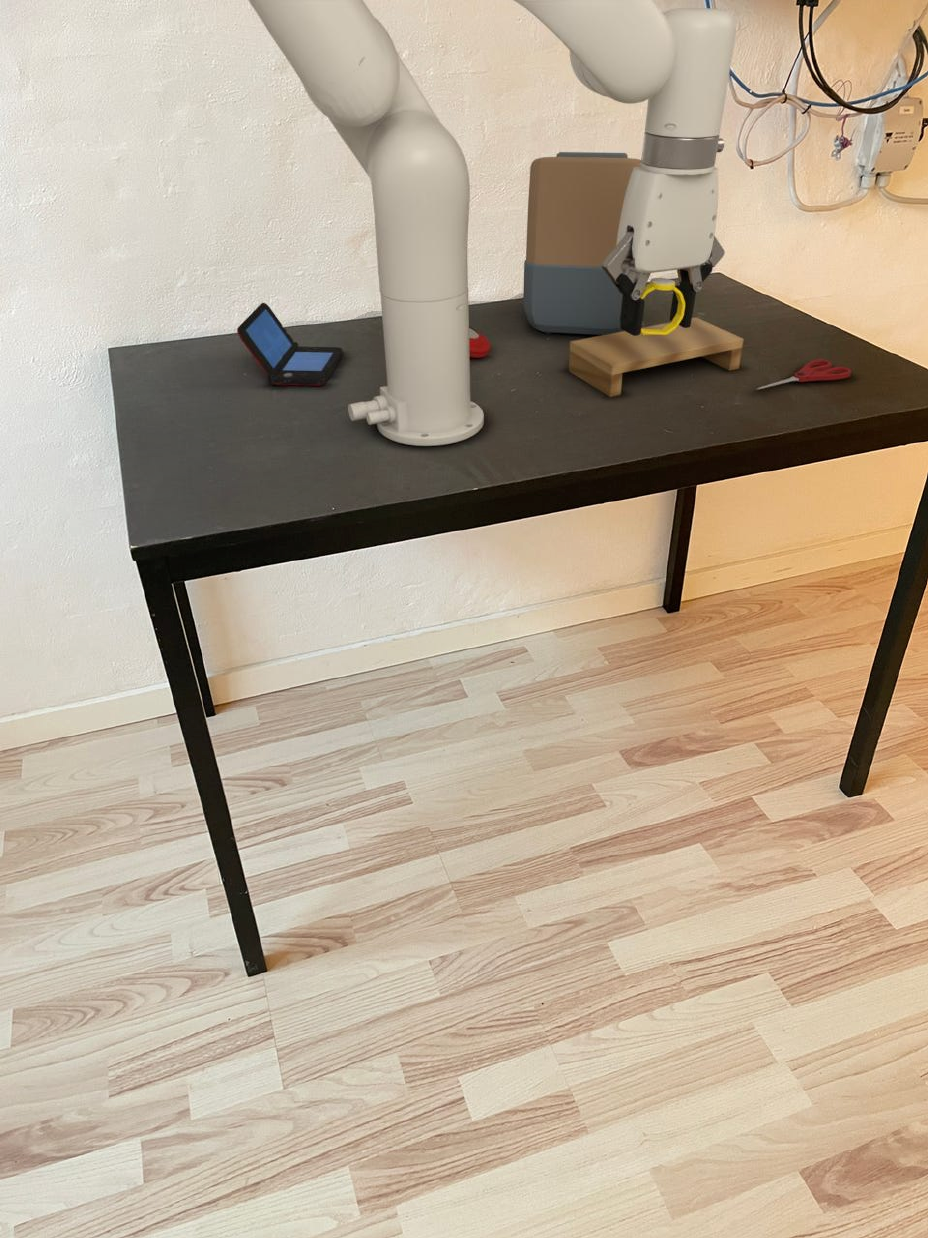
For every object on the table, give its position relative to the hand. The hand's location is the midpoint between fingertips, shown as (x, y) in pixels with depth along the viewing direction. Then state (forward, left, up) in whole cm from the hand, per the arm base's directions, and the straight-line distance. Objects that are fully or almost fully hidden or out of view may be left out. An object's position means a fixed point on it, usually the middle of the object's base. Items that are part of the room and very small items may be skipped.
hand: (655, 326), depth 102 cm
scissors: (+21, -3, -10) cm, 23 cm away
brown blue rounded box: (+10, +31, -10) cm, 34 cm away
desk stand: (+8, +10, -10) cm, 16 cm away
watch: (0, 0, -1) cm, 1 cm away
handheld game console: (-34, +33, -10) cm, 48 cm away
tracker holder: (-11, +30, -10) cm, 33 cm away
